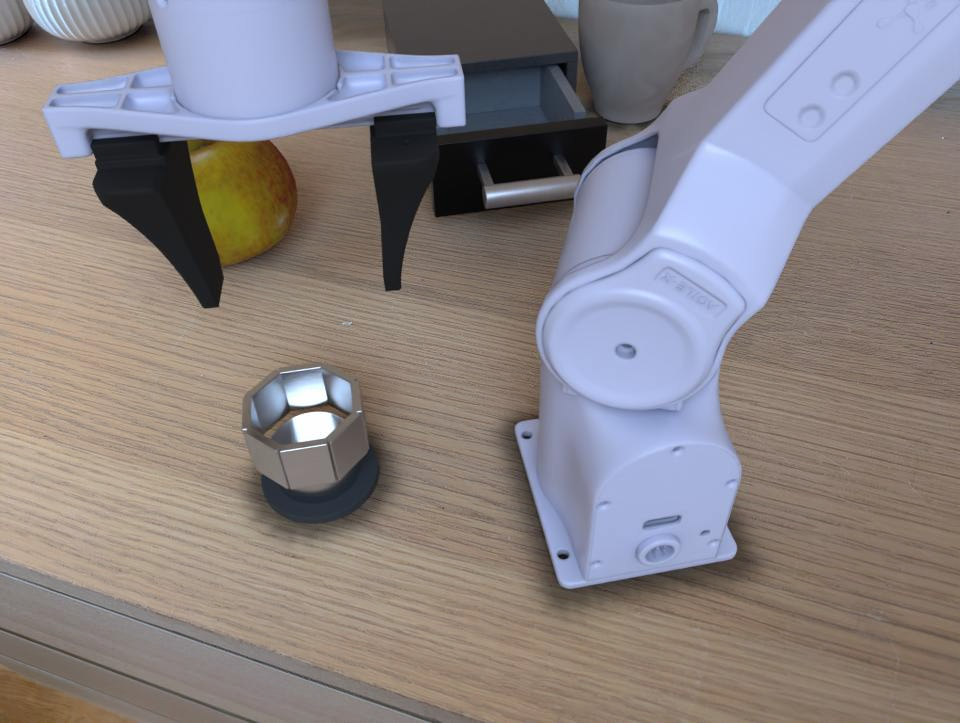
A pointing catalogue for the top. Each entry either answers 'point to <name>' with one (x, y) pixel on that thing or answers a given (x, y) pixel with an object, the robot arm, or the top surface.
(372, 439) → the top surface
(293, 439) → the silver hollow octagonal piece
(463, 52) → the cabinet
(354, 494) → the coaster
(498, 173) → the drawer
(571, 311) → the robot arm
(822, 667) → the top surface
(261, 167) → the fruit
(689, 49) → the mug
